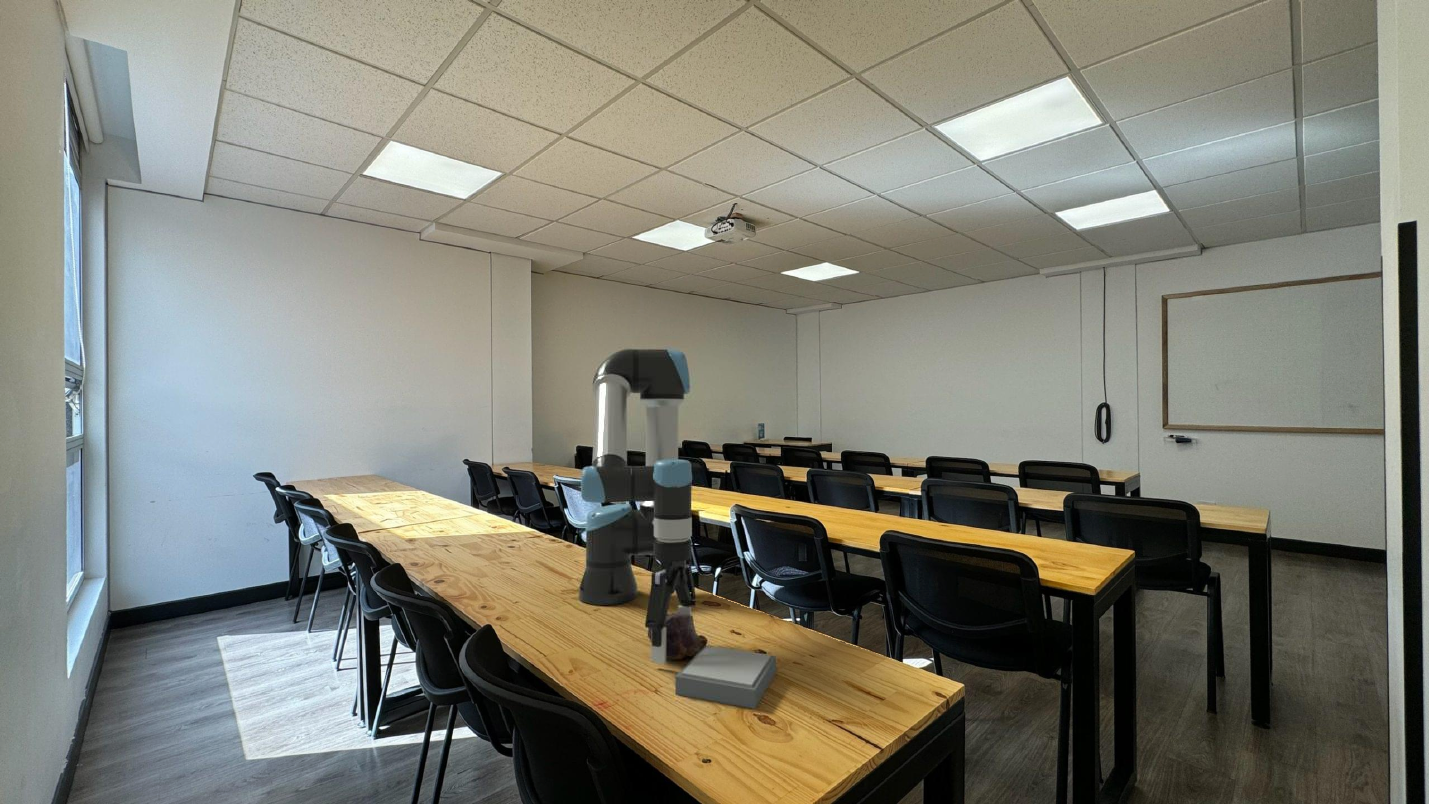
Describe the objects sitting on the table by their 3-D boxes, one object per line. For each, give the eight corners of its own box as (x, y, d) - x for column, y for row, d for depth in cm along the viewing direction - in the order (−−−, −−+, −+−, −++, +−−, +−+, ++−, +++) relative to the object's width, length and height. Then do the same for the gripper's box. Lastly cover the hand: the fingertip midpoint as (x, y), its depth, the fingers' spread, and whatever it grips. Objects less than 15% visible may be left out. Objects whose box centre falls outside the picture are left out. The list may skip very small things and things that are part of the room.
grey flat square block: (705, 661, 111) (705, 643, 111) (776, 672, 106) (776, 653, 106) (675, 694, 97) (675, 674, 97) (754, 709, 93) (754, 687, 93)
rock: (674, 647, 120) (636, 661, 113) (671, 605, 121) (633, 615, 114) (714, 654, 112) (676, 669, 105) (710, 609, 113) (672, 621, 106)
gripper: (679, 526, 126) (679, 626, 125) (626, 550, 104) (625, 672, 103) (711, 528, 123) (711, 630, 123) (663, 553, 101) (663, 678, 101)
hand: (672, 649), depth 113 cm, fingers open, 11 cm apart
